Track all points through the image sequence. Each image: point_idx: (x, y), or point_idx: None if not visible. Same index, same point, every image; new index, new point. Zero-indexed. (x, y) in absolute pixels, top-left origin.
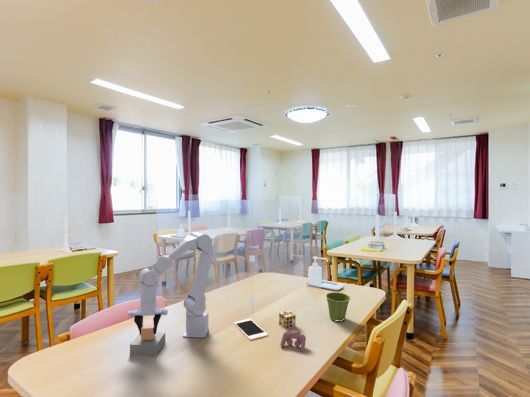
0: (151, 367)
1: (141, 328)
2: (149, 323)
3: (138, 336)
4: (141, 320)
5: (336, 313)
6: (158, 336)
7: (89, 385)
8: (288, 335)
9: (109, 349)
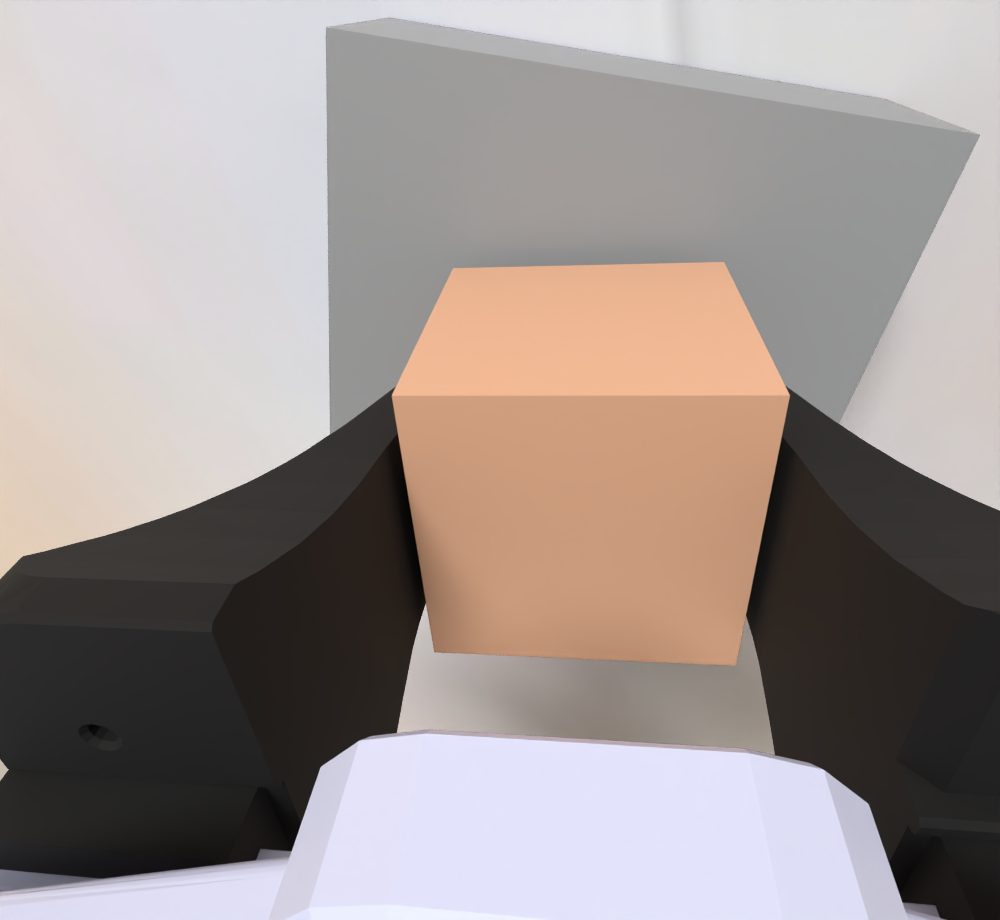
0: (692, 667)
1: (440, 640)
2: (586, 412)
3: (356, 275)
4: (360, 732)
5: None
6: (792, 326)
7: None
8: None
9: (6, 262)
